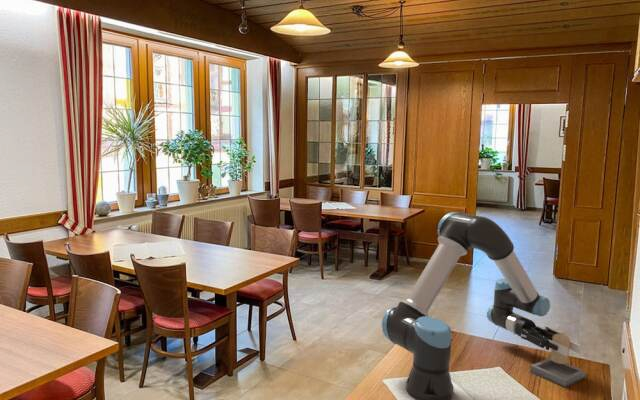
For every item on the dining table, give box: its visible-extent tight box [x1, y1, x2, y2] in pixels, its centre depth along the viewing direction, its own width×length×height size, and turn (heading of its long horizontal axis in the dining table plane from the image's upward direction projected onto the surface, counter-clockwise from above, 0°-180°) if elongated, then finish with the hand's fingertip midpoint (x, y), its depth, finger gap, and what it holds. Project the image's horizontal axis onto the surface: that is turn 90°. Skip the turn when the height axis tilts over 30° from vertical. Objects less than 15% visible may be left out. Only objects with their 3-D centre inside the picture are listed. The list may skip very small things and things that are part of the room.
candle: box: [550, 332, 571, 364], centre depth 172 cm, size 6×6×10 cm
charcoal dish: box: [529, 356, 587, 389], centre depth 173 cm, size 13×13×2 cm
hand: (573, 350), depth 167 cm, fingers closed on candle, 5 cm apart
